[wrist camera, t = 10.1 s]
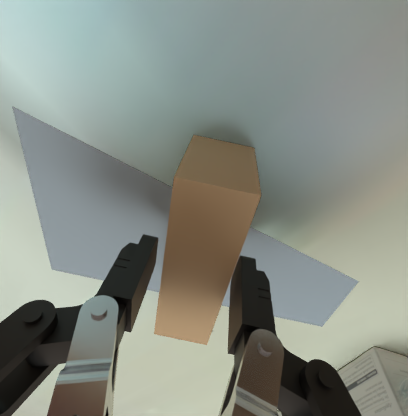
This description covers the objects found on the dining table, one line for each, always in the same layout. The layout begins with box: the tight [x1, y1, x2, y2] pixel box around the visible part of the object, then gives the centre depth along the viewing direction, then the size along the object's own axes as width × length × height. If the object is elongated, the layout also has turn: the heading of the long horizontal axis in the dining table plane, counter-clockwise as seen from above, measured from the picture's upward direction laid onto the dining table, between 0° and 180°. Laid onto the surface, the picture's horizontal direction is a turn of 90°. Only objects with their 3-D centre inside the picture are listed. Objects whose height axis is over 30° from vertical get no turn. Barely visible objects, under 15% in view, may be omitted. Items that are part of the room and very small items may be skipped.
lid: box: [12, 106, 359, 345], centre depth 14 cm, size 21×15×6 cm
